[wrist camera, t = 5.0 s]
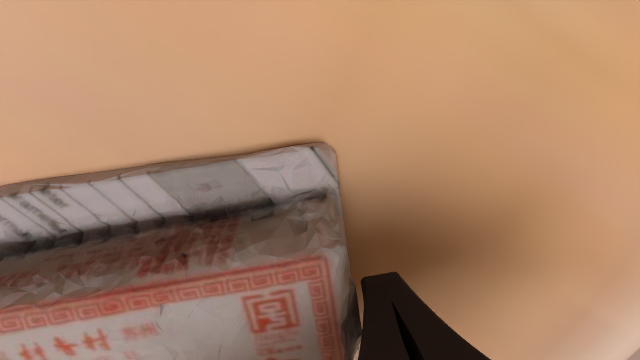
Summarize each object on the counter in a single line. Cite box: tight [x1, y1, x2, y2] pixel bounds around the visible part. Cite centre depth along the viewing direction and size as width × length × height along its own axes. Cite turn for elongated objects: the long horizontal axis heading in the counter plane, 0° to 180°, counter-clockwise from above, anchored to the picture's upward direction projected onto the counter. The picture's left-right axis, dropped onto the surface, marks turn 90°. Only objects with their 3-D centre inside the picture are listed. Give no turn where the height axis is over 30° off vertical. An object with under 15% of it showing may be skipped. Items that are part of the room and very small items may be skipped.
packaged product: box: [0, 142, 362, 360], centre depth 12 cm, size 18×5×10 cm
